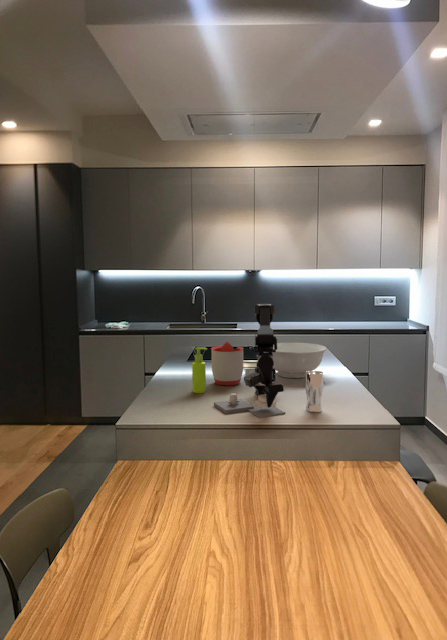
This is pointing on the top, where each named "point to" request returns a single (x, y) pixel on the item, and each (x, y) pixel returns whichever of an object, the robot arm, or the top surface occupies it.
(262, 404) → the cream domed square block
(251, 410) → the mat
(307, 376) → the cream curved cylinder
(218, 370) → the citrus juicer
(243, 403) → the plinth
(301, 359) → the bowl
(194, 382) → the soap dispenser
